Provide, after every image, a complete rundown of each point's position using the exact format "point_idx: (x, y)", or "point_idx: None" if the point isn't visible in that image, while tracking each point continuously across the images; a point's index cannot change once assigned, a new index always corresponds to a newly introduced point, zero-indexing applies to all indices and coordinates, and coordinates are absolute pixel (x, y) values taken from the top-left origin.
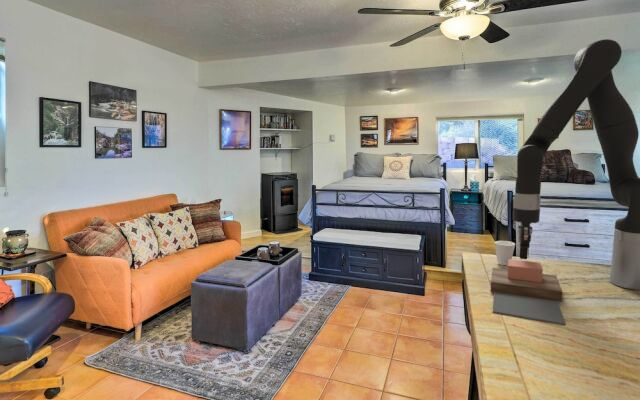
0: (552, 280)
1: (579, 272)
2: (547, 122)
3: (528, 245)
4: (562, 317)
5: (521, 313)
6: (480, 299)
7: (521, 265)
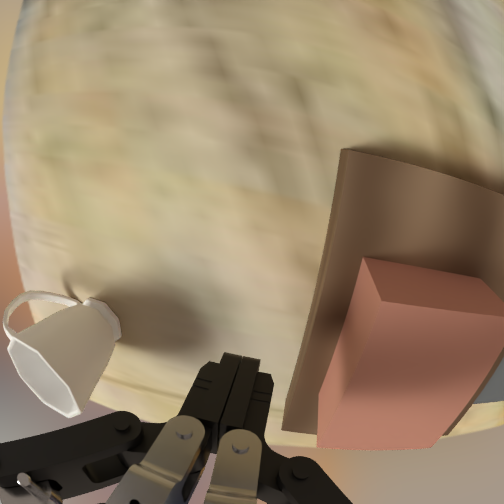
0: (451, 209)
1: (102, 17)
2: None
3: (335, 490)
4: None
5: None
6: (481, 420)
7: (437, 409)
